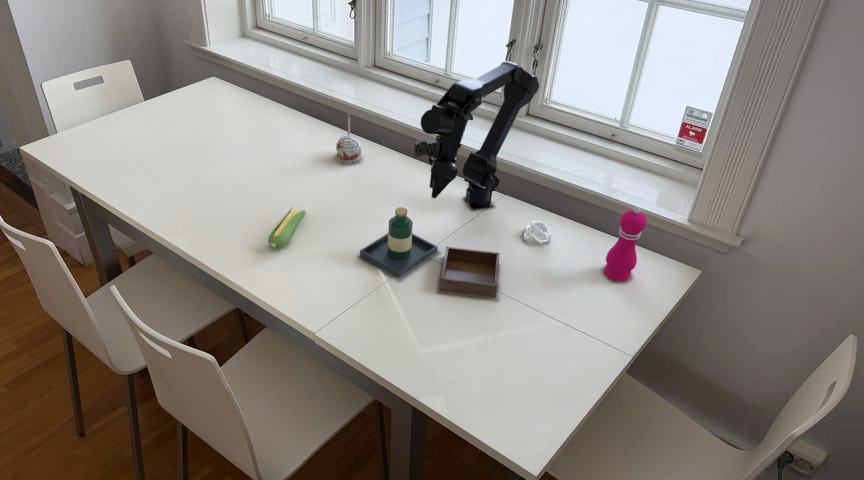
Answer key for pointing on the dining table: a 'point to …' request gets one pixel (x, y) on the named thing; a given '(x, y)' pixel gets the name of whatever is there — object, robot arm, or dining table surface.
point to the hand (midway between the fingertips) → (432, 192)
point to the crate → (470, 272)
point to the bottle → (400, 235)
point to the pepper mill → (625, 246)
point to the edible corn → (285, 229)
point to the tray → (380, 258)
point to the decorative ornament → (348, 147)
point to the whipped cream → (537, 232)
